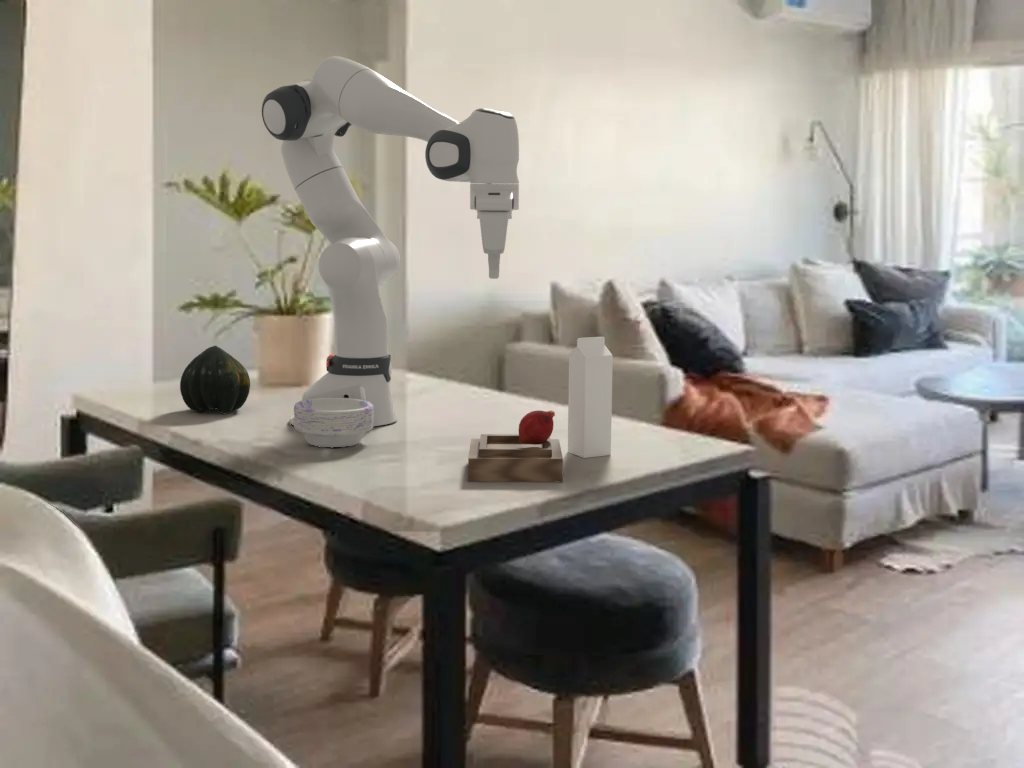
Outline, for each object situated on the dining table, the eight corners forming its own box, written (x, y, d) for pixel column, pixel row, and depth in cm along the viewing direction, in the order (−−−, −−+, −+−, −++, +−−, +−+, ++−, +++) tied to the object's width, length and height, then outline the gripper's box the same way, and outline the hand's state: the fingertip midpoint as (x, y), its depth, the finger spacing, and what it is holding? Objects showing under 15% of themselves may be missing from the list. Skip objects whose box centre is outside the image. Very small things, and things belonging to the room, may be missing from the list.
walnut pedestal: (468, 481, 202) (468, 451, 201) (471, 460, 217) (471, 432, 216) (562, 481, 202) (563, 452, 201) (558, 460, 217) (558, 432, 217)
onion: (530, 452, 206) (564, 421, 206) (508, 428, 207) (541, 397, 207) (532, 455, 211) (565, 424, 212) (510, 431, 212) (543, 401, 213)
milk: (567, 452, 225) (568, 336, 221) (594, 449, 227) (596, 334, 224) (584, 458, 219) (585, 339, 216) (611, 455, 222) (613, 338, 219)
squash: (209, 396, 250) (238, 338, 258) (157, 392, 257) (186, 336, 265) (246, 431, 261) (272, 374, 268) (194, 427, 268) (221, 372, 275)
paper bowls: (387, 446, 229) (386, 405, 227) (313, 455, 221) (312, 413, 219) (353, 432, 241) (352, 393, 240) (282, 440, 233) (281, 400, 232)
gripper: (478, 199, 226) (478, 272, 228) (475, 200, 206) (475, 280, 208) (511, 199, 226) (511, 272, 228) (512, 200, 206) (511, 280, 208)
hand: (494, 276), depth 218 cm, fingers open, 8 cm apart
